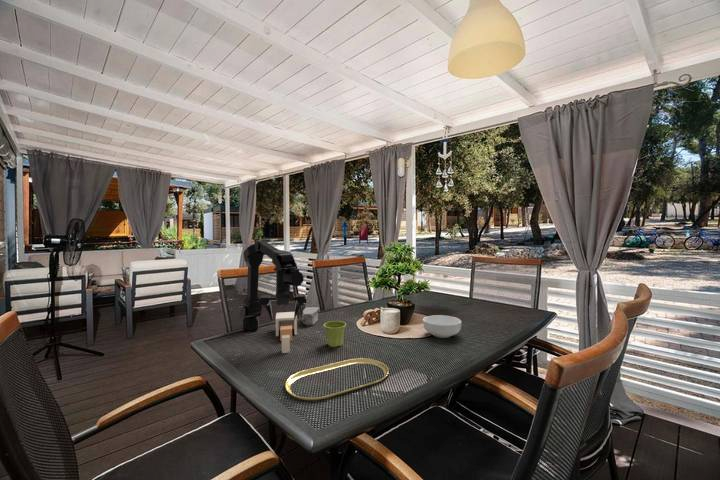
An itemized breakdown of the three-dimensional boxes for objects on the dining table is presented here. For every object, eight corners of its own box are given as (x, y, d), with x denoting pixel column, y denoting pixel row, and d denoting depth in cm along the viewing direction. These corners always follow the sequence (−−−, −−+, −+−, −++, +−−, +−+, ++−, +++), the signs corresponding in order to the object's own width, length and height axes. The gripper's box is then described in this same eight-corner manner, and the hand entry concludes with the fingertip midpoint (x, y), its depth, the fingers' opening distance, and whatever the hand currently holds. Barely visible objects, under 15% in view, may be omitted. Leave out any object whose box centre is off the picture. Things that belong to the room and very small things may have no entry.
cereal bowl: (457, 329, 151) (457, 314, 151) (465, 342, 135) (465, 325, 135) (421, 328, 153) (421, 314, 153) (424, 340, 137) (424, 324, 136)
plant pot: (343, 349, 127) (342, 328, 127) (320, 348, 129) (320, 327, 129) (348, 341, 136) (348, 321, 136) (327, 339, 138) (327, 320, 138)
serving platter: (277, 381, 102) (277, 376, 102) (369, 358, 120) (369, 354, 120) (296, 410, 86) (296, 404, 86) (400, 378, 103) (400, 374, 103)
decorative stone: (317, 318, 173) (298, 319, 169) (317, 305, 172) (299, 306, 169) (322, 326, 158) (302, 327, 155) (322, 312, 158) (302, 313, 155)
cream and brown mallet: (279, 353, 124) (279, 338, 123) (280, 337, 142) (280, 324, 141) (292, 352, 125) (292, 337, 124) (292, 336, 143) (292, 323, 142)
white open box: (275, 336, 143) (275, 318, 143) (276, 329, 153) (276, 312, 152) (297, 334, 145) (296, 317, 145) (296, 327, 155) (296, 311, 154)
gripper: (257, 287, 120) (257, 327, 121) (307, 286, 124) (306, 325, 125) (260, 281, 131) (260, 318, 132) (306, 280, 135) (305, 316, 136)
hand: (283, 319), depth 131 cm, fingers open, 9 cm apart
